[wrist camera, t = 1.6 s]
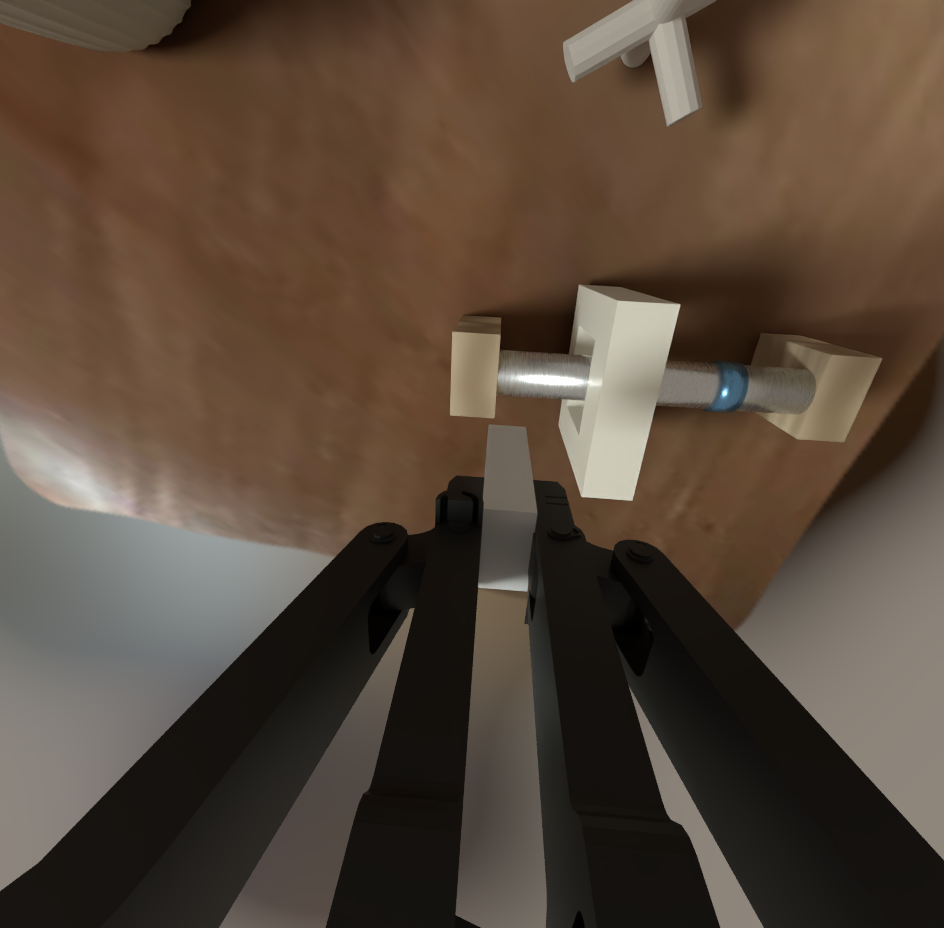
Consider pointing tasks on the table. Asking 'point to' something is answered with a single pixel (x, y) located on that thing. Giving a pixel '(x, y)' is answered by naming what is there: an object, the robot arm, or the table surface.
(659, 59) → the pipe connector
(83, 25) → the canister
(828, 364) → the rod support stand
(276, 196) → the table surface
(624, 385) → the collar
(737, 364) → the steel rod
